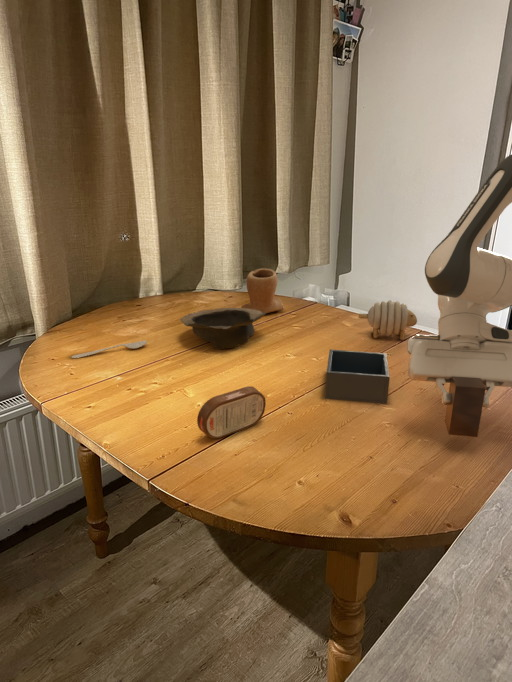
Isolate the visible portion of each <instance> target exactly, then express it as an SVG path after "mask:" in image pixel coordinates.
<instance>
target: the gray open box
mask: <svg viewBox="0 0 512 682" xmlns="http://www.w3.org/2000/svg"><path fill="white" fill-rule="evenodd" d="M389 386H390V370H389V363H388V356H387V353H386V352H373V351H359V350H344V349H329V351H328V358H327V366H326V374H325V392H324V399H325V400H326V399H327V400H340V401H350V402H363V403H373V404H374V403H375V404H384V405H385V404H388V398H389V397H388V395H389Z"/></svg>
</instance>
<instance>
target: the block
mask: <svg viewBox="0 0 512 682" xmlns="http://www.w3.org/2000/svg"><path fill="white" fill-rule="evenodd" d="M486 391H487V390H486V388H485V386H484V384H483V382H482V380H481V378H469V377H454V376H452V378H451V380H450V383H449V387H448V393H452V397H451V399H452V403H451V404H450V405H446V409H445V414H444V416H445V417H444V424H445V427H446V430H447V434H448V436H449V435H451V436H462V437H474V438H478V436H479V429H480V423H481V418H482V412H483V408H484V407H483V401H484V395H485V393H486Z"/></svg>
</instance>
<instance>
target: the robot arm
mask: <svg viewBox="0 0 512 682" xmlns="http://www.w3.org/2000/svg"><path fill="white" fill-rule="evenodd" d="M511 204H512V154H510V155H508V156H506V157H505V158H504V159H502V160H501V161H500V163H499V164H498V165H497V166H496V167H495V169H494V170H493V171H492V172H491V174H490V175H489V176H488V178H487V179H486V180H485V181H484V183H483V184H482V186H481V187H480V188H479V190H478V191H477V193H476V194H475V195H474V197H473V198H472V199H471V201H470V203H469V204H468V206H467V207H466V208H465V210H464V211H463V213H462V214H461V215H460V216H459V218H458V220H456V223H455V224H454V226H452V228H451V229H450V231H449V232H448V233H447V235H446V236H445V237H444V238H443V239H442V240H441V241H440V242H439V243H438V244H437V245H436V246H435V248H434V249H433V250H432V252H431V253H430V254H429V256H428V258H427V260H426V262H425V266H424V275H425V279H426V282H427V284H428V287H430V289H431V290H432V292H433V293H434V294H436V295H437V307H438V310H439V318H438V320H437V323H438V324H437V332H438V333H437V334H421V333H417V334H414V335H413V336H410V337H409V338H408V339H407V342H406V350H407V353H408V354H409V355H410V356H409V360H408V367H407V376H408V378H409V379H410V380H411V381H418V382H431V383H435V384H434V385H435V389H436V390H437V392H438V394H439V395H440V396H441V405H446V406H447V405H450V404H451V403H452V399H451V397H452V393H449V392H447V390H446V388H445V385H446V383H447V384H450V380H451V378H452V376H454V377H469V378H481V380H482V382H483V384H484V386H485V388H486V390H485V395H484V401H483V407H482V408H488V407H489V405H490V399H489V397H490V396H491V394H492V392H493V391H494V389H495V387H503V388H512V330H510V329H507V328H504V327H501V326H497V325H495V324H493V323H490V322H488V321H487V315H488V314H490V313H497V312H500V311H502V310H506V309H508V308H511V307H512V257H510V256H506V255H504V254H500V253H497V252H493V251H490V250H487V249H485V248H484V249H483V248H481V247H479V245H480V243H481V242H482V241H483V239H484V238H486V235H487V234H488V232H489V231H490V230H491V229H492V227H493V226H494V224H495V223H496V221H498V219H499V217H501V215H502V214H503V212H504V211H505V209H506V208H507V207H508V206H509V205H511Z"/></svg>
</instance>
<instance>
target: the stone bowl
mask: <svg viewBox="0 0 512 682" xmlns="http://www.w3.org/2000/svg"><path fill="white" fill-rule="evenodd" d="M267 314H268V313H267V312H262V313H261V311H258V310H253V309H245V308H241V307H221V308H220V307H219V308H212V309H204V310H203V309H202V310H199V311H197V312H192V313H188V314H186V315H184V316H182V317H180V323H182V324H183V325H184V326H186V327H191V328H192V332H193V333H194V335H195V336H197V337H199V338H200V339H203V340H204V341H206V342H210V343H213V344H214V347H215V348H216V349H217V350H223V349H226V350H228V349H233V348H236V347H238V346H243V345H245V344H247V343H248V341H249V338H251V337H253V335H254V334H255V327H254V325H253V324H254V323H255V322H257V321H258V320H260V319H262V318H263V317H264V316H265V315H267Z"/></svg>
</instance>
